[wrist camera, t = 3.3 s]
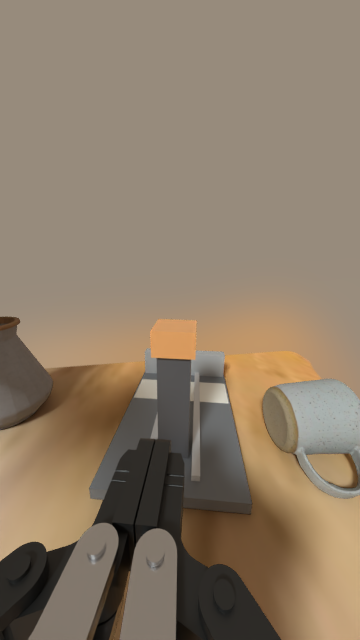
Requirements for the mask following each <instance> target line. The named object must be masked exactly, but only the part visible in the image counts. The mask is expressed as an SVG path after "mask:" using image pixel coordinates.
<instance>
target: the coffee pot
mask: <svg viewBox="0 0 360 640" xmlns="http://www.w3.org/2000/svg"><path fill="white" fill-rule="evenodd" d="M19 323H20V320H19V318H16V317H0V430H2V429H6V428H9V427H11V426H14V425H16V424H18V423H20V422H22V421H24V420H26V419H27V418H29V417H30V416H31V415H33V414H34V413H35V412H36V411H37V410H38V408H39V407H40V406H41V405H42V404H43V403H44V402H45V401H46V399H47V398H48V396H49V395H50V393H51V390H52V386H53V380H52V378H51V377H50V375H49V374H48V373H47V371H46V370H45V369H44V368H43V367H42V365H41V364H40V363H39V362H38V361H37V359H36V358H35V357H34V356H33V354H32V353H31V352H30V351H29V349H28V348H27V347H26V346H25V345H24V343H23V342H22V341H21V340H20V338H19V337H18V336H17V335H16V331H17V325H18V324H19Z"/></svg>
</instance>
